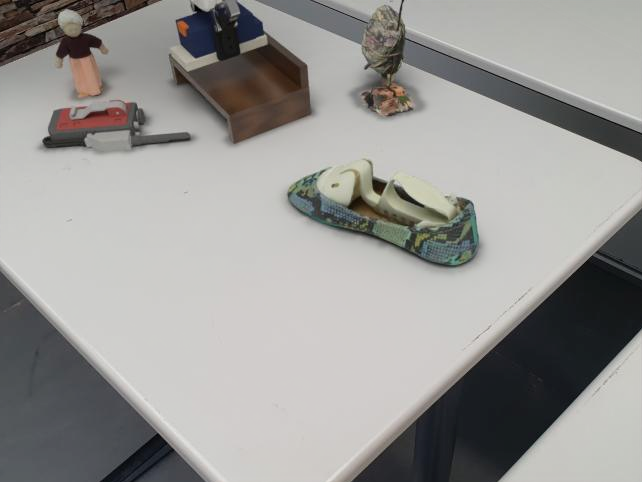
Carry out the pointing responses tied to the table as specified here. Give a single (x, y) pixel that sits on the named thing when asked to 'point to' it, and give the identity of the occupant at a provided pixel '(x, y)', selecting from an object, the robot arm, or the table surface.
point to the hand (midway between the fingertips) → (219, 47)
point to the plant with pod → (385, 60)
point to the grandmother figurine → (79, 54)
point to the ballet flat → (391, 210)
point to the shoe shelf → (253, 88)
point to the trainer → (200, 41)
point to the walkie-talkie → (102, 127)
